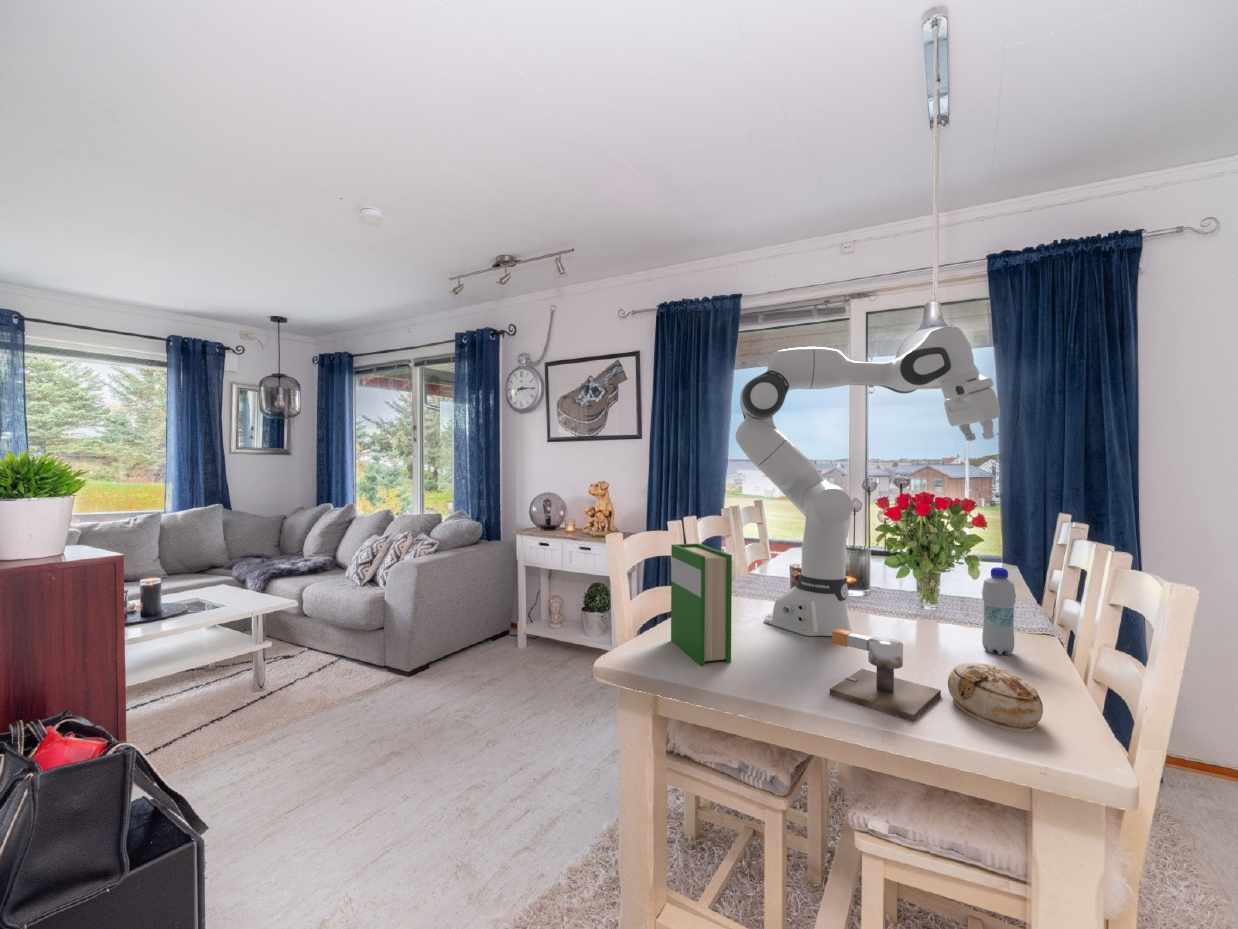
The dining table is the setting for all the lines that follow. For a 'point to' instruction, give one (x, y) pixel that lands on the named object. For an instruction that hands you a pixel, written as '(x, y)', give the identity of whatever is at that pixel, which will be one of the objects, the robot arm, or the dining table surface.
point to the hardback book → (701, 602)
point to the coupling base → (886, 693)
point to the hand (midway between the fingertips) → (980, 439)
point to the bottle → (998, 612)
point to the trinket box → (995, 696)
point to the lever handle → (873, 648)
